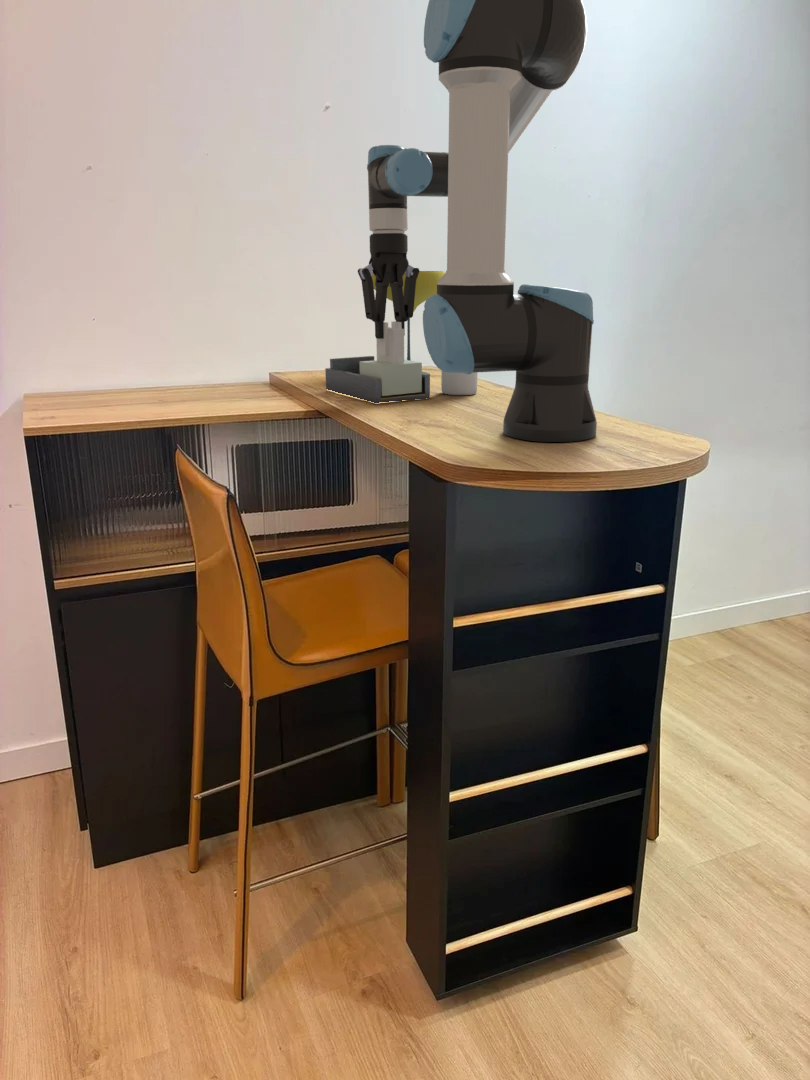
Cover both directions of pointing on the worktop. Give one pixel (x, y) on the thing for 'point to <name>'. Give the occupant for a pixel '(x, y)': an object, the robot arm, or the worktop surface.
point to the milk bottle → (459, 383)
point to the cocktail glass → (418, 294)
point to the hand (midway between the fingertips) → (390, 354)
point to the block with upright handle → (394, 367)
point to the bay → (365, 382)
